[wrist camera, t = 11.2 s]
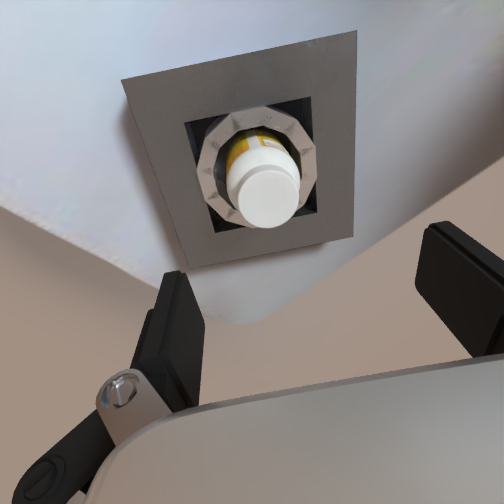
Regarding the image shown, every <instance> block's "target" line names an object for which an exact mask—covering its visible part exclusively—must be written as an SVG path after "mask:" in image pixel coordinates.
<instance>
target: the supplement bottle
mask: <svg viewBox="0 0 504 504" xmlns="http://www.w3.org/2000/svg"><path fill="white" fill-rule="evenodd" d="M226 184H227V193H228V196H229V198H230V201H231V202H232V204H233V205H234V207H235V208H236V209H237V210H238V211H239V212H240V213H241V215H242V216H243V218H244V219H245V220H246V221H247V222H248V223H250V224H252V225H253V226H256V227H259V228H273V227H277V226H280V225H282V224H283V223H285V222H286V221H288V220H289V219H290V218H291V217H292V216H293V214H294V213H295V211H296V209H297V206H298V202H299V189H300V174H299V171H298V168H297V166H296V164H295V162H294V161H293V159H292V158H291V156H290V155H289V153H288V152H287V151H286V149H285V148H284V146H283V145H282V144H281V142H280V141H279V140H278V139H277V138H276V137H275V136H274V135H273V134H271V133H269V132H267V131H264V130H259V129H254V130H248V131H246V132H243V133H241V134H240V135H239V136H237V137H236V138H235V139H234V141H233V142H232V143H231V145H230V147H229V149H228V152H227V156H226Z"/></svg>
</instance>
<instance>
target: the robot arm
mask: <svg viewBox="0 0 504 504" xmlns="http://www.w3.org/2000/svg"><path fill="white" fill-rule="evenodd" d="M415 286H416V289H417V291H418V292H419V293H420V295H421V296H422V297H423V298H424V299H425V301H426V302H427V303H428V304H429V305H430V306H431V308H432V309H433V310H434V311H435V313H436V314H437V315H438V316H439V317H440V319H441V320H442V321H443V322H444V324H445V325H446V326H447V327H448V328H449V330H450V331H451V332H452V333H453V334H454V336H455V337H456V338H457V339H458V340H459V342H460V343H461V344H462V345H463V347H464V348H465V349H466V350H467V351H468V353H469V354H470V355H471V356H472V357H473V358H470V359H464V360H458V361H452V362H445V363H439V364H433V365H426V366H420V367H415V368H409V369H402V370H396V371H390V372H384V373H378V374H372V375H366V376H360V377H354V378H348V379H343V380H337V381H331V382H325V383H319V384H313V385H307V386H302V387H296V388H290V389H284V390H279V391H273V392H267V393H262V394H256V395H250V396H245V397H240V398H234V399H230V400H224V401H219V402H214V403H209V404H205V405H201V406H198V405H199V393H200V381H201V369H202V357H203V345H204V333H205V324H204V319H203V317H202V314H201V311H200V309H199V306H198V303H197V301H196V298H195V296H194V293H193V290H192V288H191V285H190V283H189V280H188V277H187V275H186V273H181V272H180V271H179V270H178V271H173V272H167V273H165V274H164V276H163V279H162V283H161V286H160V290H159V293H158V296H157V300H156V303H155V306H154V309H150V310H149V311H148V313H147V315H146V318H145V322H144V325H143V328H142V331H141V334H140V337H139V340H138V344H137V347H136V350H135V353H134V356H133V359H132V363H131V366H130V369H125V370H123V371H120V372H118V373H116V374H115V375H113V376H111V378H109V379H108V380H107V381H106V382H105V383H104V384H103V386H102V387H101V388H100V390H99V392H98V394H97V397H96V408H97V409H96V410H95V411H93V412H92V413H91V414H90V415H89V416H88V417H87V418H85V419H84V420H83V421H82V422H81V423H80V424H78V425H77V426H76V427H75V428H74V429H73V430H72V431H70V432H69V433H68V434H67V435H66V436H65V437H64V438H62V439H61V440H60V441H59V442H58V443H57V444H55V445H54V446H53V447H52V448H51V449H50V450H49V451H47V453H45V454H44V455H43V456H42V457H40V458H39V459H38V460H37V461H36V462H35V463H34V464H33V465H32V466H31V467H30V468H29V469H28V470H27V471H26V472H25V474H24V475H23V477H22V478H21V479H20V481H19V483H18V485H17V487H16V489H15V491H14V494H13V498H12V504H504V261H503V260H502V259H501V258H499V257H498V256H496V255H495V254H494V253H492V252H491V251H490V250H488V249H487V248H485V247H484V246H483V245H481V244H480V243H478V242H477V241H476V240H474V239H473V238H472V237H470V236H469V235H467V234H466V233H465V232H463V231H462V230H461V229H459V228H458V227H456V226H455V225H454V224H452V223H451V222H449V221H442V222H437V223H432V224H430V225H429V226H428V228H426V229H425V231H424V234H423V240H422V245H421V251H420V256H419V262H418V267H417V274H416V278H415Z"/></svg>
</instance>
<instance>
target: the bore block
mask: <svg viewBox="0 0 504 504" xmlns="http://www.w3.org/2000/svg"><path fill="white" fill-rule="evenodd" d="M356 70H357V30H356V31H351V32H346V33H341V34H337V35H332V36H327V37H322V38H318V39H313V40H308V41H303V42H299V43H294V44H289V45H284V46H280V47H275V48H270V49H265V50H261V51H256V52H251V53H246V54H242V55H237V56H232V57H227V58H223V59H218V60H213V61H208V62H204V63H199V64H194V65H189V66H185V67H180V68H175V69H170V70H166V71H161V72H156V73H151V74H147V75H142V76H137V77H132V78H128V79H123V80H121V82H122V85H123V88H124V90H125V93H126V96H127V99H128V101H129V104H130V107H131V110H132V112H133V115H134V118H135V120H136V123H137V126H138V129H139V131H140V134H141V137H142V140H143V142H144V145H145V148H146V151H147V153H148V156H149V159H150V161H151V164H152V167H153V170H154V172H155V175H156V178H157V181H158V183H159V186H160V189H161V191H162V194H163V197H164V200H165V202H166V205H167V208H168V211H169V213H170V216H171V219H172V222H173V224H174V227H175V230H176V232H177V235H178V238H179V241H180V243H181V246H182V249H183V252H184V254H185V257H186V260H187V262H188V265H189V268H190V269H192V268H197V267H202V266H207V265H212V264H217V263H223V262H228V261H233V260H238V259H243V258H248V257H253V256H258V255H263V254H268V253H273V252H278V251H283V250H289V249H294V248H299V247H304V246H309V245H314V244H319V243H324V242H329V241H334V240H339V239H344V238H350V237H353V219H354V169H355V120H356ZM295 99H300V100H301V114H302V126H301V125H300V123H299V122H298V120H297V119H295V118H294V117H293V116H291V115H290V114H288V113H287V112H285V111H283V110H280V109H278V108H275V107H273V106H270V105H271V104H276V103H281V102H285V101H290V100H295ZM218 115H220V116H219V117H218V118H217V119H216V120H215V121H214V122H213V123H212V124H211V125H210V126H209V127H208V128H207V131H206V134H205V138H204V142H203V146H202V149H201V153H200V157H199V153H198V150H197V146H196V142H195V139H194V135H193V131H192V127H191V124H190V121H193V120H198V119H203V118H208V117H213V116H218ZM258 126H266V127H268V128H271V129H274V130H276V131H279V132H281V133H284V135H285V136H286V137H287V139H288V140H289V141H290V145H291V156H292V159H293V161H294V162H295V164H296V166H297V168H298V171H299V174H300V189H299V202H298V206H297V209H296V211H295V213H294V214H293V216H292V217H291V218H290V219H289V220H288V221H286V222H285V223H283V224H282V225H280V226H277V227H273V228H259V227H256V226H253V225H252V224H250V223H248V222H247V221H246V220H245V219H244V218H243V216H242V215H241V213H240V212H239V211H238V210H237V209H236V208H235V207H234V205H233V204H232V202H231V201H230V198H229V196H228V193H227V186H226V185H225V184H224V183H223V182H222V181H221V180H220V179H219V178H218V174H217V170H216V166H215V161H216V158H217V154H218V151H219V148H220V147H221V146H222V145H223V144H224V143H225V142H226V141H227V140H229V139H230V138H231V137H232V136H233V135H234V134H235V133H236V132H237V131H239V130H244V129H249V128H253V127H258ZM302 127H303V128H302ZM214 210H215V211H216V212H217V213H218V214H219V216H215V212H214Z"/></svg>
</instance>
